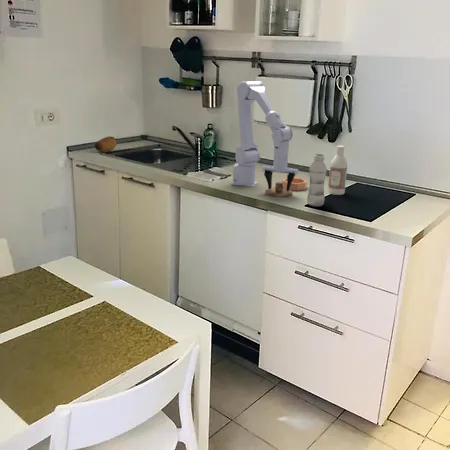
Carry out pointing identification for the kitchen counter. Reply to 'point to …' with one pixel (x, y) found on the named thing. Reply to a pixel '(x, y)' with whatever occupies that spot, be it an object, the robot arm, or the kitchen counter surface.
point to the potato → (106, 144)
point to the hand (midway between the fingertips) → (278, 189)
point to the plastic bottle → (317, 181)
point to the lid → (278, 191)
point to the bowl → (295, 184)
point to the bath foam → (338, 173)
